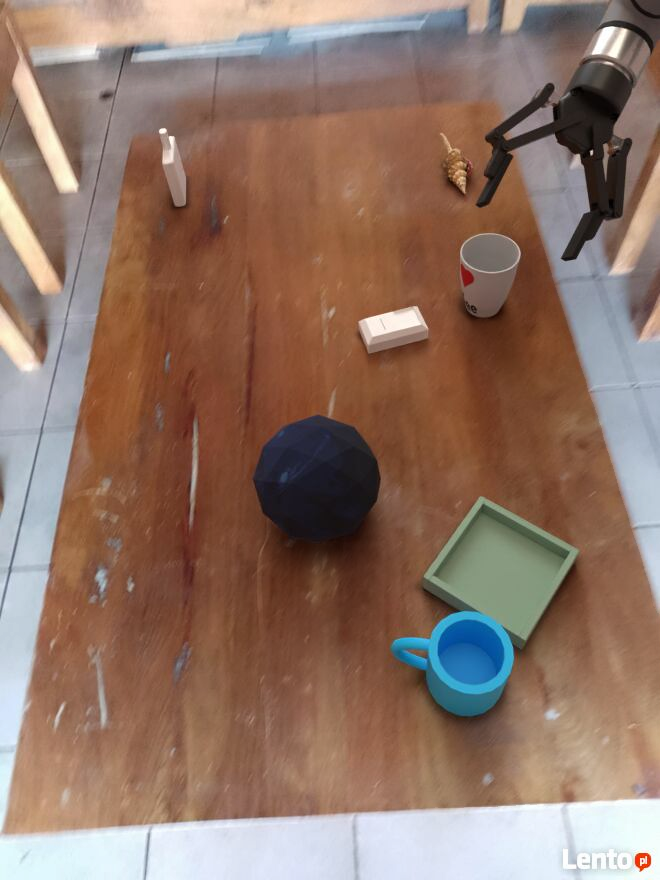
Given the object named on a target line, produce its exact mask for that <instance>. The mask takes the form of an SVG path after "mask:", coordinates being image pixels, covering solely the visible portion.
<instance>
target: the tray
mask: <svg viewBox="0 0 660 880" xmlns="http://www.w3.org/2000/svg"><path fill="white" fill-rule="evenodd" d="M580 551H581V550H580V549H578V548H577V547H575V546H573V545H571V544H569V543H567V542H566V541H564V540H562V539H560V538H558V537H556V536H555V535H553V534H551V533H549V532H548V531H546V530H544V529H542V528H541V527H538V526H537V525H535V524H533V523H531V522H530V521H528V520H526V519H524V518H523V517H521V516H518V515H517V514H515V513H514V512H511V511H509V510H507V509H506V508H504V507H502V506H501V505H499V504H497V503H495V502H493V501H492V500H489V498H486V497H483V496H482V495H480V496H479V497H478V499H477V500H476V501H475V503H474V504H473V506H472V507H471V509H470V510H469V511H468V513H467V514H466V515H465V517H464V518H463V519H462V521H461V523H460V524H459V525H458V527H457V528H456V529H455V531H454V533H453V534H452V535H451V536H450V538H449V540H448V541H447V542H446V544H445V545H444V547H443V548H442V549H441V551H440V552H439V554H438V555H437V556H436V558H435V559H434V561H433V562H432V563H431V565H430V566H429V568H428V569H427V570H426V571H425V573H424V575H423V576H422V588H423V589H424V590H426V591H427V592H429V593H430V594H432V595H434V596H436V597H437V598H439V599H441V600H442V601H443V602H444V603H446V604H448V605H449V606H451V607H452V608H455V609H456V610H458V611H459V612H462V611H470V612H478V613H481V614H484V615H487V616H489V617H491V618H492V619H493V620H495V621H496V622H497V623H499V624H500V625H501V626H502V627H503V629H504V630H505V631H506V633H507V634H508V635H509V638H510V641H511V643H512V646H514V647H516V648H518V649H519V650H521V651H522V650H523V649H524V647H525V645H526V643H527V642H528V640H529V639H530V637H531V636H532V634H533V633H534V630H535V629H536V627H537V625H538V623H539V622H540V620H541V618H542V617H543V615H544V614H545V612H546V611H547V609H548V608H549V606H550V604H551V603H552V600H553V599H554V597H555V596H556V594H557V592H558V591H559V589H560V587H561V586H562V584H563V582H564V580H565V579H566V577H567V576H568V574H569V572H570V570H571V569H572V567H573V566H574V564H575V562H576V560H577V558H578V556H579V553H580Z"/></svg>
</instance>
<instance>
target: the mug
mask: <svg viewBox="0 0 660 880" xmlns="http://www.w3.org/2000/svg"><path fill="white" fill-rule="evenodd" d="M407 650H408V651H407ZM409 650H413V651H414V650H415V651H423V652H427V658H424V657H422V656H418V655H416V654H413V653H411V652H409ZM390 651H391V653H392V655H393V657H394V658H396V659H397V660H398V661H400V662H402V663H403V664H405V665H408V666H411V667H413V668H415V669H419V670H422V671H425V672H426V673H425V681H426V684H427V688H428V691H429V693H430V694H431V696H432V697H433V699H434V701H435V702H436V704H438V705H439V706H441V707H442V708H443V709H444V710H445V711H447V712H450V713H452V714H454V715H456V716H462V717H475V716H479V715H481V714H482V715H483V714H485V713H487V711H489V710H491V709H492V708H493V707H494V706H495V705H496V704H497V702H498V701H499V699H500V698H501V696H502V694H503V692H504V689H505V688H506V687H505V686H506V684H507V682H508V680H509V677H510V675H511V672H512V668H513V665H514V663H515V660H514V656H515V655H514V645H513V644H512V643H511V641H510V638H509V635H508V634H507V633H506V631H505V630H504V629H503V627H502V626H501V625H500V624H499V623H497V622H496V621H495V620H493V619H492V618H491V617H489V616H487V615H484V614H481V613H478V612H470V611H462V612H461V611H459V612H454V613H451V614H449V615H447V616H446V617H444V618H442V619H441V620H440V621H439V622H438V623H437V625H436V626H435V627H434V628H433V629H432V632H431V635H430V638H425V637H411V636H409V637H401V638H397V639H395V640H394V641H393V642H392V644H391V646H390Z"/></svg>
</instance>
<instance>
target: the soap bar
mask: <svg viewBox="0 0 660 880" xmlns="http://www.w3.org/2000/svg"><path fill="white" fill-rule="evenodd" d="M357 322H358V323H357V324H358V332H359V334H360V336H361V339H362V341H363V344H364V346H365V348H366V351H367V354H369V355H370V354H374V353H377V352H381V351H382V352H383V351H385V350H389V349H392V348H397V347H401V346H405V345H408V344H413V343H416V342H420V341H423V340H428V339H429V333H430V332H429V331H430V329H429V328H428V325H427V323H426V321H425V319H424V317H423V315H422V313H421V311H420V309H419V307H418V305H416V306H414V305H413V306H409V307H404V308H401V309H397V310H393V311H389V312H386V313H385V312H384V313H382V314H378V315H373V316H369V317H366V318H363V319H361V320H359V321H357Z"/></svg>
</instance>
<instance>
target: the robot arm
mask: <svg viewBox="0 0 660 880" xmlns="http://www.w3.org/2000/svg"><path fill="white" fill-rule="evenodd" d="M659 41H660V0H611V1H610V2H609V5H608V6H607V9H606V11H605V13H604V15H603V17H602V19H601V21H600V23H599V25H598V27H597V29H596V30H595V32H594V34H593V36H592V38H591V40H590V42H589V44H588V46H587V47H586V50H585V52H584V54H583V55H582V57H581V59H580V61H579V64H578V67H577V68H576V69H575V71H574V72H573V75H572V77H571V78H570V80H569V82H568V84H567V86H566V88H565V90H564V92H563V94H562V96H560V95H559V94H558V93H557V92H556V91H555V89H556V87H555V85H554V83H552V82H547V83H546V84H545V85H543V86H542V87H540V88H539V89H537V90H536V92H535V93H534V95H533V96H532V98H531V99H530V101H529V102H528V103H527V104H525V105H524V106H522V107H521V108H520V109H518V110H517V111H515V113H513V114H512V115H510V116H509V117H507V118H506V119H505V120H504V121H502V122H501V123H499V124H498V125H497V126H495V127H494V128H493V129H491V130H490V131H488V132H487V133H486V134H485V136H484V140H485V143H488V144H490V145H491V147H492V149H491V157H490V158H489V161H488V163H487V165H486V167H485V168H484V171H483V177H485V178H486V179H487V181H486V183H485V185H484V186H483V189H482V190H481V193H480V195H479V197H478V199H477V200H476V202H475V207H477V208H479V209H481V208H483V207H486V206H489V205H490V203H492V202H491V201H492V199H493V198H494V195H495V194H496V192H497V190H498V189H499V186H500V184H501V182H502V180H503V179H504V176H505V174H506V172H507V171H508V169H509V166H510V164H511V163H512V160H513V158H514V155H513V154H511V153H510V152H512V151H514V150H517V149H520V148H522V147H525V146H528V145H530V144H532V143H535V142H537V141H540V140H542V139H545V138H548V137H551V136H553V135H554V138H555V139H556V143H557V144H558V145H560V146H563V147H566V148H567V149H568V150H569V152H570V153H572V154H573V155H576V156H577V155H579V160H580V164H581V165H582V166H583V171H584V179H585V185H586V192H587V199H588V207H589V211H587V212H585V213H583V214H582V216H581V219H580V220H579V222H578V224H577V226H576V228H575V230H574V231H573V234H572V236H571V238H570V239H569V241H568V243H567V245H566V247H565V249H564V251H563V253H562V255H561V257H560V260H562V261H564V262H570V261H575V260H577V259H578V257H579V255H580V253H581V252H582V249H583V247H584V245H585V243H586V242H589V241H592V240H594V238H595V237H596V236H597V233H598V232H599V230H600V227H601V226H602V224H603V223H604V221H606V222H610V221H613V220H618V219H621V218H622V217H623V214H624V205H625V203H624V202H625V189H626V178H627V177H626V176H627V163H628V157H629V154H630V152H631V148H632V146H633V140H632V138H630V137H625V138H622V137H620V136H618V135H616V134H615V133H614V130H615V125H616V123H617V122H618V121H619V118H620V117H621V115H622V114H623V111H624V109H625V107H626V105H627V103H628V101H629V99H630V98H631V96H632V93H633V90H634V89H635V88H636V86H637V83H638V82H639V80H640V78H641V76H642V74H643V72H644V70H645V68H646V66H647V65H648V62H649V61H650V58H651V56H652V54H653V52H654V50H655V48H656V46H657V44H658V43H659ZM550 106H552V120H553V121H551V122H549V123H547V124H544V125H542V126H539V127H536V128H534V129H531V130H529V131H527V132H524V133H522V134H519V135H516V136H513V137H511V138H509V139H506V137H505V136H504V135H506V134H507V133H508V132H510V131H511V130H512V129H514V128H515V127H516V126H518V125H519V124H521V123H522V122H523V121H524V120H525V119H527V118H528V117H530V116H531V115H533V114H534V113H535V112H537V111H538V110H540V109H546V108H549V107H550ZM604 145H607V148H608V149H607V150H606V154H607V155H608V158H607V162H606V163H607V164H606V174H605V166H604V158H605V148H604ZM591 151H592V154H591Z"/></svg>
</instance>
